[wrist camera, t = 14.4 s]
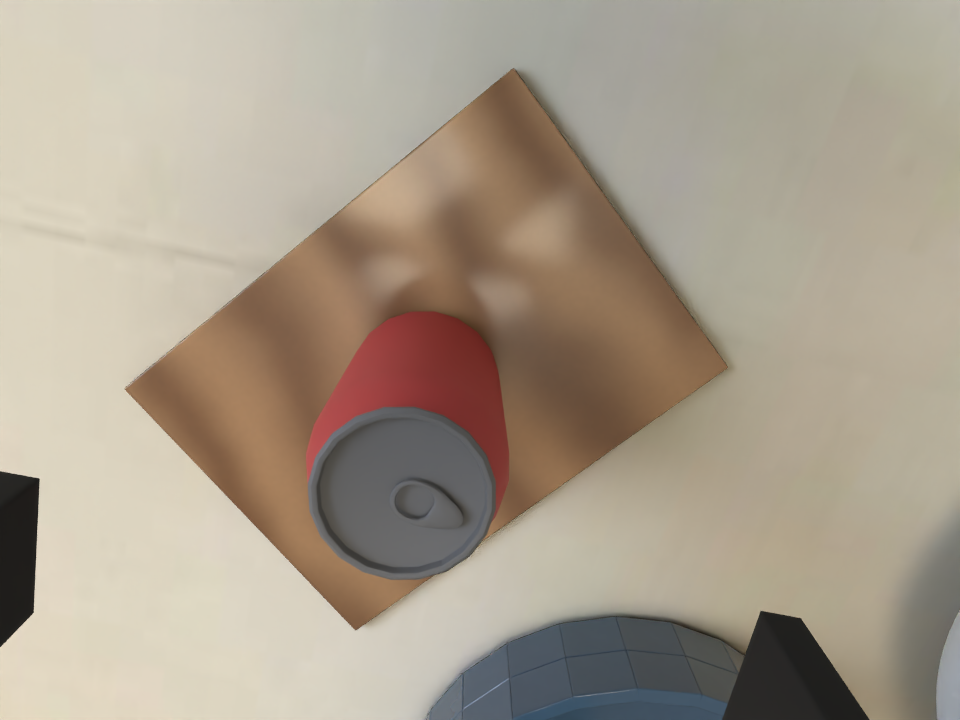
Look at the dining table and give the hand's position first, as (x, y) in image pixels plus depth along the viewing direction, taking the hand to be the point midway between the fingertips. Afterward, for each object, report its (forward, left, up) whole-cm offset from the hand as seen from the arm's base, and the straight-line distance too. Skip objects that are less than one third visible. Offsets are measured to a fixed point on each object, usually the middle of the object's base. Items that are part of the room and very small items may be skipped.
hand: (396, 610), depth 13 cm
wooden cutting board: (+2, +1, -21) cm, 21 cm away
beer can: (+2, +1, -20) cm, 20 cm away
